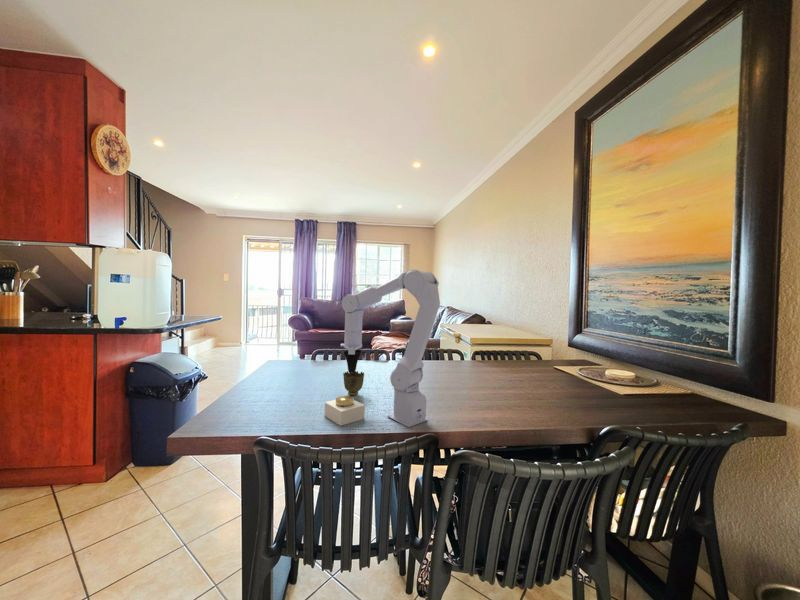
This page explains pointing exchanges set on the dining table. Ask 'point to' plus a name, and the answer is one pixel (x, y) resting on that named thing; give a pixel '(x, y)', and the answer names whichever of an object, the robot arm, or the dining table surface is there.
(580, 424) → the dining table surface
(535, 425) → the dining table surface
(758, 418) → the dining table surface
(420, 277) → the robot arm
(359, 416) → the block
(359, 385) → the cup
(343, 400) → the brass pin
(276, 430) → the dining table surface
